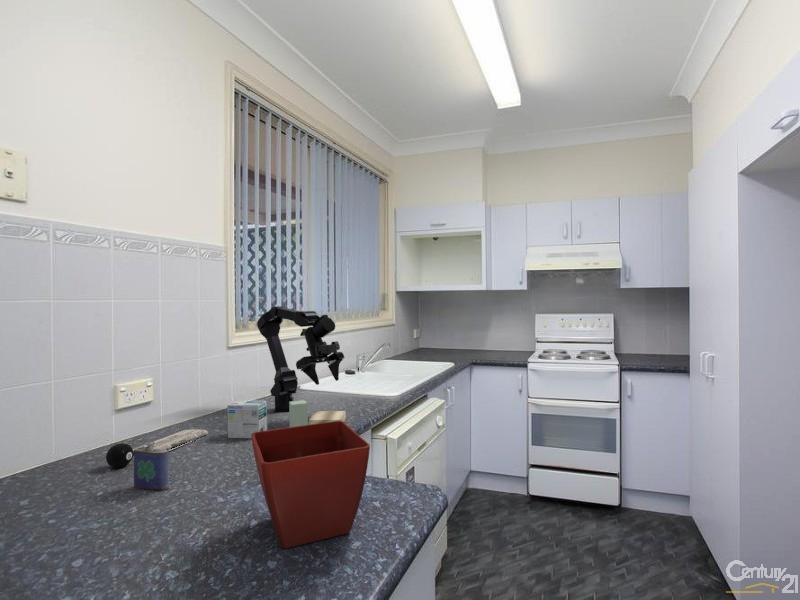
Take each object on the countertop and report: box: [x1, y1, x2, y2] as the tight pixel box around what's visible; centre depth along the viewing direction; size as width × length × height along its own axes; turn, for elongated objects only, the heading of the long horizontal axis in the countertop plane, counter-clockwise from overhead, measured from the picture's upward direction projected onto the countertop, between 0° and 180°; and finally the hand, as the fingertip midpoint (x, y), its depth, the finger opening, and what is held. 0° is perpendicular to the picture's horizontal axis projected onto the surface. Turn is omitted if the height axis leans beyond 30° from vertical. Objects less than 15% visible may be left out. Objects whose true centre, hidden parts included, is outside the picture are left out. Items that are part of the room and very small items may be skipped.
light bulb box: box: [226, 400, 268, 439], centre depth 144 cm, size 11×7×11 cm, turn 84°
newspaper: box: [132, 428, 209, 453], centre depth 137 cm, size 23×12×2 cm, turn 161°
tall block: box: [289, 399, 309, 427], centre depth 146 cm, size 5×5×10 cm
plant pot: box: [251, 421, 371, 549], centre depth 85 cm, size 19×19×17 cm
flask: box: [133, 441, 170, 492], centre depth 104 cm, size 9×3×11 cm, turn 74°
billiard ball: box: [105, 443, 134, 469], centre depth 118 cm, size 6×6×6 cm
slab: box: [308, 410, 347, 425], centre depth 156 cm, size 11×12×3 cm
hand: (327, 382), depth 161 cm, fingers open, 9 cm apart
